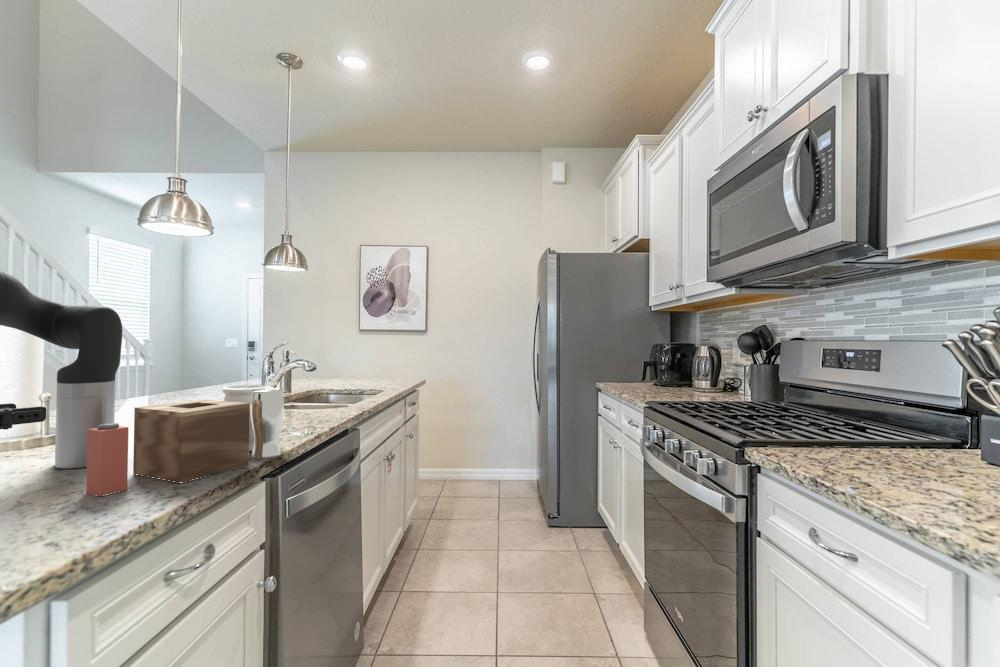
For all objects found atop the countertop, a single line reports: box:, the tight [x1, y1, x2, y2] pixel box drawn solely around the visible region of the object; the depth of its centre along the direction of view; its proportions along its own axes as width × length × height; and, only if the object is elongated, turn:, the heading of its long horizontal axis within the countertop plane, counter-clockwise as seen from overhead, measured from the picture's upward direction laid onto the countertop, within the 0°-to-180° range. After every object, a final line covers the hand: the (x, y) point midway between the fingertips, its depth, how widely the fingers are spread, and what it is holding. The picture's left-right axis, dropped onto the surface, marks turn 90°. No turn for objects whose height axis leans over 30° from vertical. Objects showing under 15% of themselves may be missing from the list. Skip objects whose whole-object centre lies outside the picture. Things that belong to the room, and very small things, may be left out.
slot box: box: [132, 398, 250, 482], centre depth 94 cm, size 14×14×13 cm
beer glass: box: [250, 387, 285, 460], centre depth 105 cm, size 7×7×15 cm
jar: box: [222, 384, 272, 452], centre depth 112 cm, size 11×10×15 cm
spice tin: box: [85, 422, 129, 497], centre depth 80 cm, size 4×4×12 cm
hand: (29, 411), depth 70 cm, fingers open, 8 cm apart
